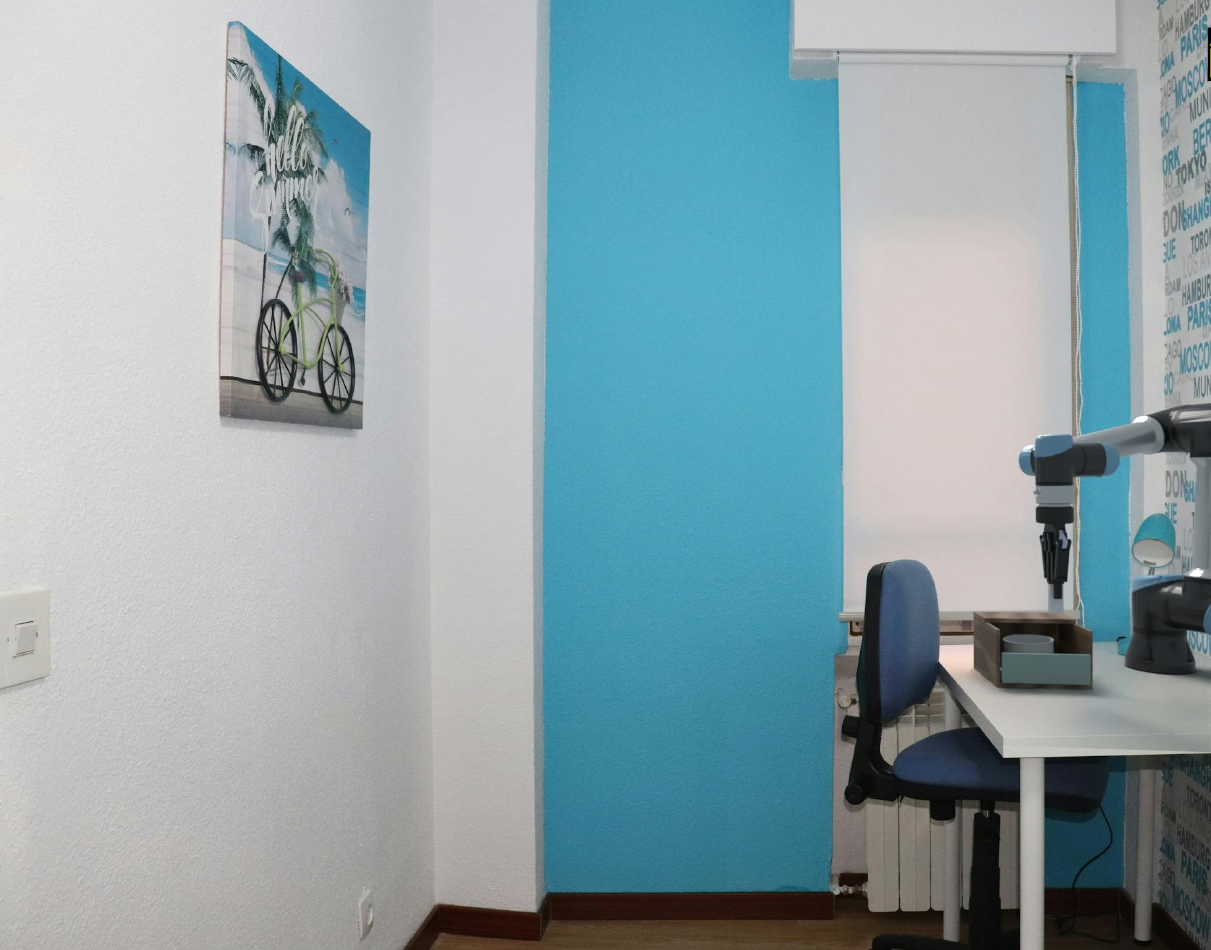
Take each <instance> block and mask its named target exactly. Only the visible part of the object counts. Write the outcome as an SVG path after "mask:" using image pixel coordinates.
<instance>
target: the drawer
mask: <svg viewBox="0 0 1211 950" xmlns="http://www.w3.org/2000/svg"><path fill="white" fill-rule="evenodd" d="M1000 680H1001V681H1002V682H1003V683H1032V684H1075V685H1091V655H1089V654H1044V653H1002V655H1000Z"/></svg>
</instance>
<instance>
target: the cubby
mask: <svg viewBox="0 0 1211 950" xmlns="http://www.w3.org/2000/svg"><path fill="white" fill-rule="evenodd" d="M1093 631H1094V630H1091V629H1089V628H1086V627H1084V626H1082V625H1080V624H1078V623H1077V619H1076V618H1074V617H1072V616H1069V615H1066V614H1065V613H1064V614H1050V613H1048V612H1037V611H1036V612H1031V611H1030V612H1029V611H1026V612H1025V611H1024V612H1023V611H1020V612H1019V611H973V669H974V670H975V671H976V672H978V673H979V674H980V675H982V676H983V677H984V678H985V679H986V680H988V681H989V682H990V683H992V685H994V686H995V687H997V688H1026V689H1027V688H1029V689H1031V688H1033V689H1034V688H1035V689H1067V690H1070V689H1071V690H1073V689H1074V690H1075V689H1077V690H1078V689H1079V690H1094V689H1093V688H1094V685H1093V684H1094V683H1093V681H1094V680H1093V677H1094V674H1093V671H1094V669H1093V668H1094V666H1093V665H1094V663H1093V659H1094V657H1093V656H1094V655H1093V649H1094V648H1093V647H1094V646H1093V645H1094V644H1093V643H1094V642H1093V636H1094V635H1093V634H1094V633H1093ZM1012 634H1018V635H1020V634H1032V635H1042V636H1047V637H1051V638H1052V639H1054V642H1053V647H1054V654H1089V655H1091V685H1075V684H1032V683H1003V682H1002V681H1001V680H1000V655H1002V653H1004V642H1003V638H1004V637H1006V636H1010V635H1012Z"/></svg>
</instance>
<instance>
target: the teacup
mask: <svg viewBox="0 0 1211 950" xmlns="http://www.w3.org/2000/svg"><path fill="white" fill-rule="evenodd" d="M1003 642H1004V653H1044V654H1054V647H1053V642H1054V639H1052V638H1051V637H1047V636H1042V635H1032V634H1020V635H1018V634H1012V635H1010V636H1006V637H1004V638H1003Z"/></svg>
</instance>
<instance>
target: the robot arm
mask: <svg viewBox="0 0 1211 950" xmlns="http://www.w3.org/2000/svg"><path fill="white" fill-rule="evenodd" d="M1160 453H1181V454H1182V453H1183V454H1184V453H1185V454H1186V453H1188V454H1189V460H1190V461H1191V462H1192V463H1193V464H1194V465H1195V467H1196V473H1195V475H1196V476H1195V477H1196V478H1195V496H1194V497H1195V498H1194V499H1195V500H1194V515H1193V516H1194V517H1193V518H1194V520H1193V537H1192V538H1193V539H1192V558H1191V561H1192V562H1191V568H1190V569H1189V570H1187V571H1186V572H1185V573H1177V574H1176V573H1175V574H1174V573H1172V574H1149V575H1147V574H1146V575H1139V576H1138V575H1137V576H1136V577H1135V578H1134V579H1133V580H1132V591H1131V608H1132V610H1131V611H1132V613H1131V614H1132V615H1131V616H1132V617H1131V618H1132V635H1131V638H1130V641H1129V644H1128V646H1127V648H1126V651H1125V654H1124V665H1125V666H1126V667H1128V668H1131V669H1135V670H1137V671H1138V670H1139V671H1144V672H1150V673H1160V674H1177V675H1179V674H1191V673H1195V672H1196V670H1197V668H1196V666H1197V665H1196V663H1197V662H1196V660H1195V656H1194V654H1193V651H1192V647H1191V645H1190V643H1189V639H1188V632H1196V633H1199V634H1200V633H1201V634H1206V635H1210V636H1211V402H1208V403H1197V404H1183V405H1182V404H1181V405H1177V406H1174V407H1170V408H1167V409H1163V410H1159V411H1156V412H1153V413H1149V414H1146V415H1142V416H1138V417H1136V418H1135V419H1134V420H1133V421H1132V422H1131V423H1127V424H1123V425H1119V426H1114V427H1110V428H1107V429H1102V430H1098V431H1093V432H1089V433H1085V434H1082V435H1076V436H1072V435H1071V434H1070V433H1069V434H1068V433H1067V434H1065V433H1062V434H1061V433H1060V434H1059V433H1058V434H1040V435H1038V436H1037V437H1035V442H1034V444H1029V445H1026V446H1025V447H1023V448H1022V450H1021V451H1020V453H1019V456H1018V465H1019V466H1018V467H1019V468H1020V470H1021V471H1022V473H1023V474H1025V475H1027V476H1030V477H1034V479H1035V482H1034V484H1035V489H1034V490H1033V491H1032V493H1033V495H1035V503H1036V504H1037V505H1038V506H1036V507H1035V522H1036V523H1037V524H1043V525H1044V527H1043V531H1042V534H1039V538H1038V539H1039V541H1040V547H1041V558H1042V560H1041V561H1042V570H1043V578H1044V579H1046V583H1047V608H1048V609H1047V613H1050V614H1065V612H1064V609H1065V608H1064V607H1065V606H1064V604H1065V603H1064V600H1065V599H1064V585H1065V583H1067V582H1068V579H1069V577H1068V575H1069V566H1070V551H1071V546H1072V539H1071V538H1068V532H1067V530H1066V524H1067V525H1068V524H1073V523H1074V521H1075V512H1074V511H1075V508H1074V506H1072V505H1073V504H1074V503H1075V485H1074V479H1075V478H1093V477H1095V478H1102V477H1109V476H1111V475H1113V474H1115V472H1116V471H1118V469H1119V466H1120V463H1121V462H1120V459H1122V458H1125V457H1130V456H1133V455H1138V454H1142V455H1155V454H1160Z"/></svg>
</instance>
